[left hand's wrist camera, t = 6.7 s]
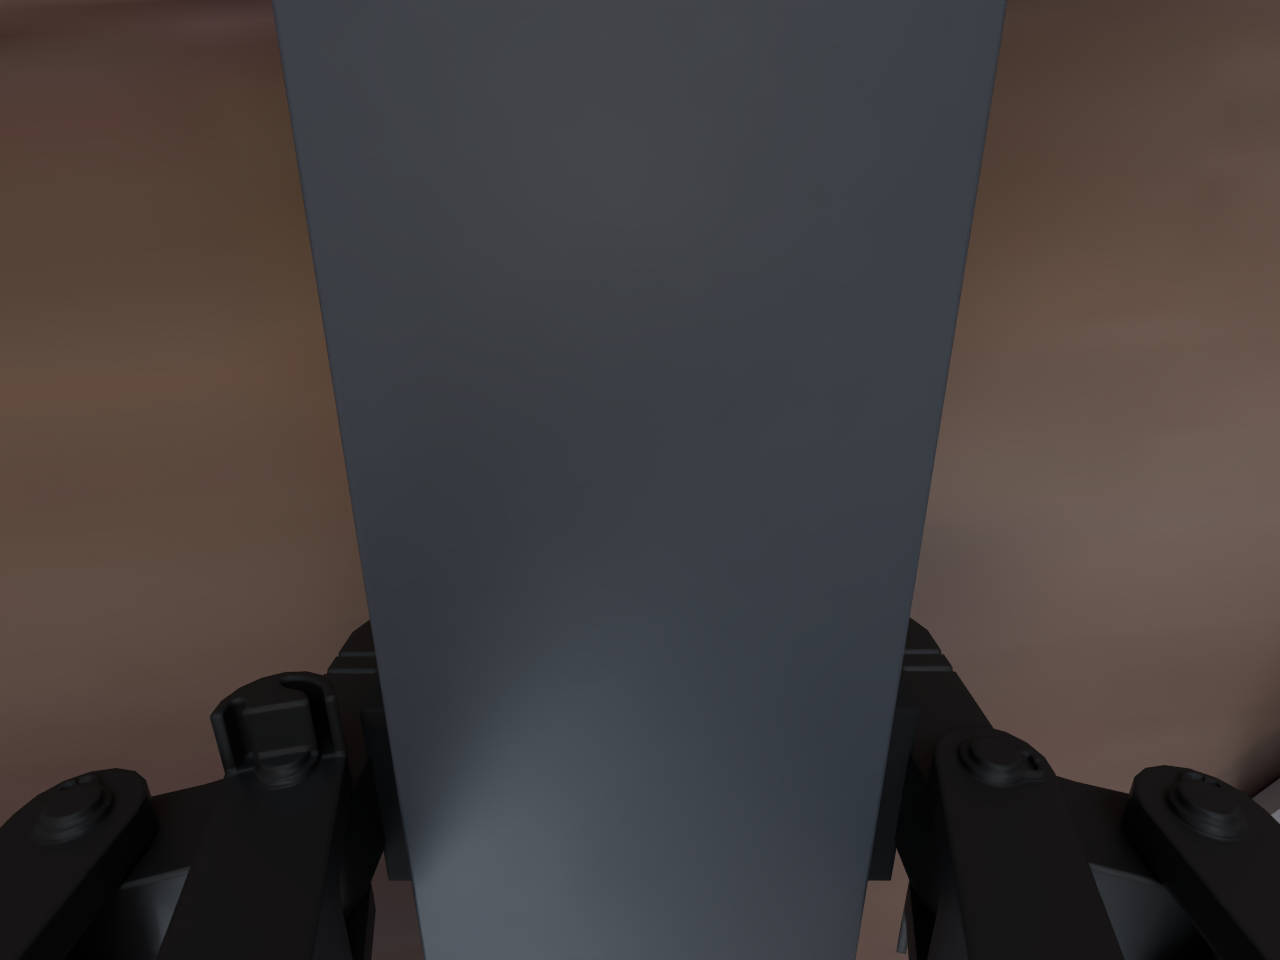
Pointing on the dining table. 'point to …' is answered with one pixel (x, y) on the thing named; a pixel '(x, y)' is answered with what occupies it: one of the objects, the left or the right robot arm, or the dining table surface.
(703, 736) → the post
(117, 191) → the dining table surface
